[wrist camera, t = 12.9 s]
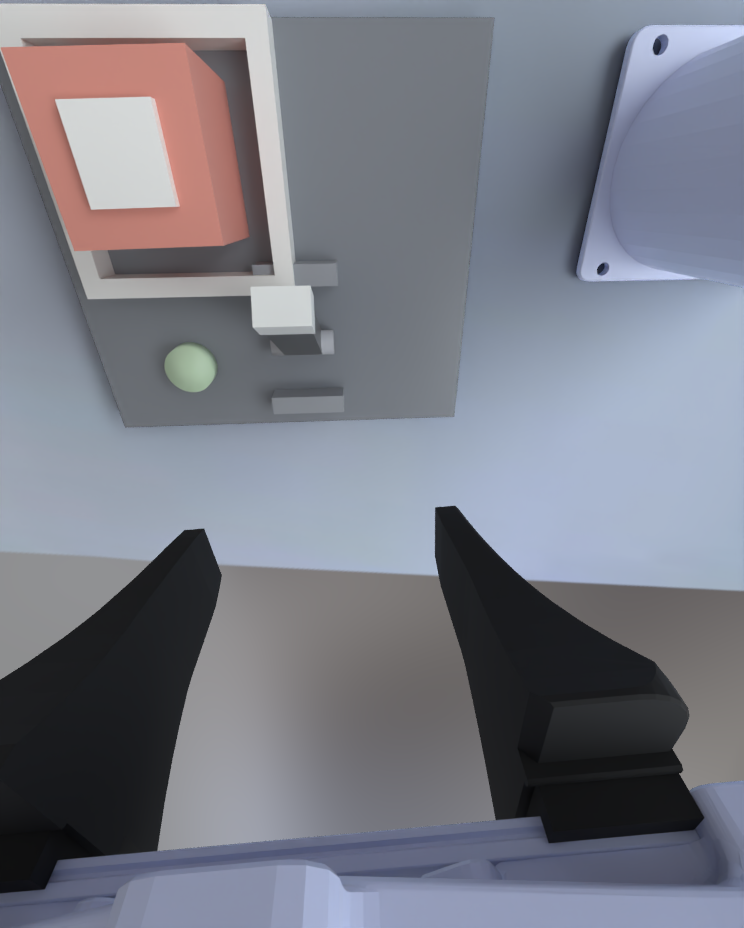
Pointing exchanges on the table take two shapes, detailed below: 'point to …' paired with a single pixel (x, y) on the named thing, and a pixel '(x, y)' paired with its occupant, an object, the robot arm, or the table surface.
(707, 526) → the table surface
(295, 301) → the lever
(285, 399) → the panel
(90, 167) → the pink cube
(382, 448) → the table surface
